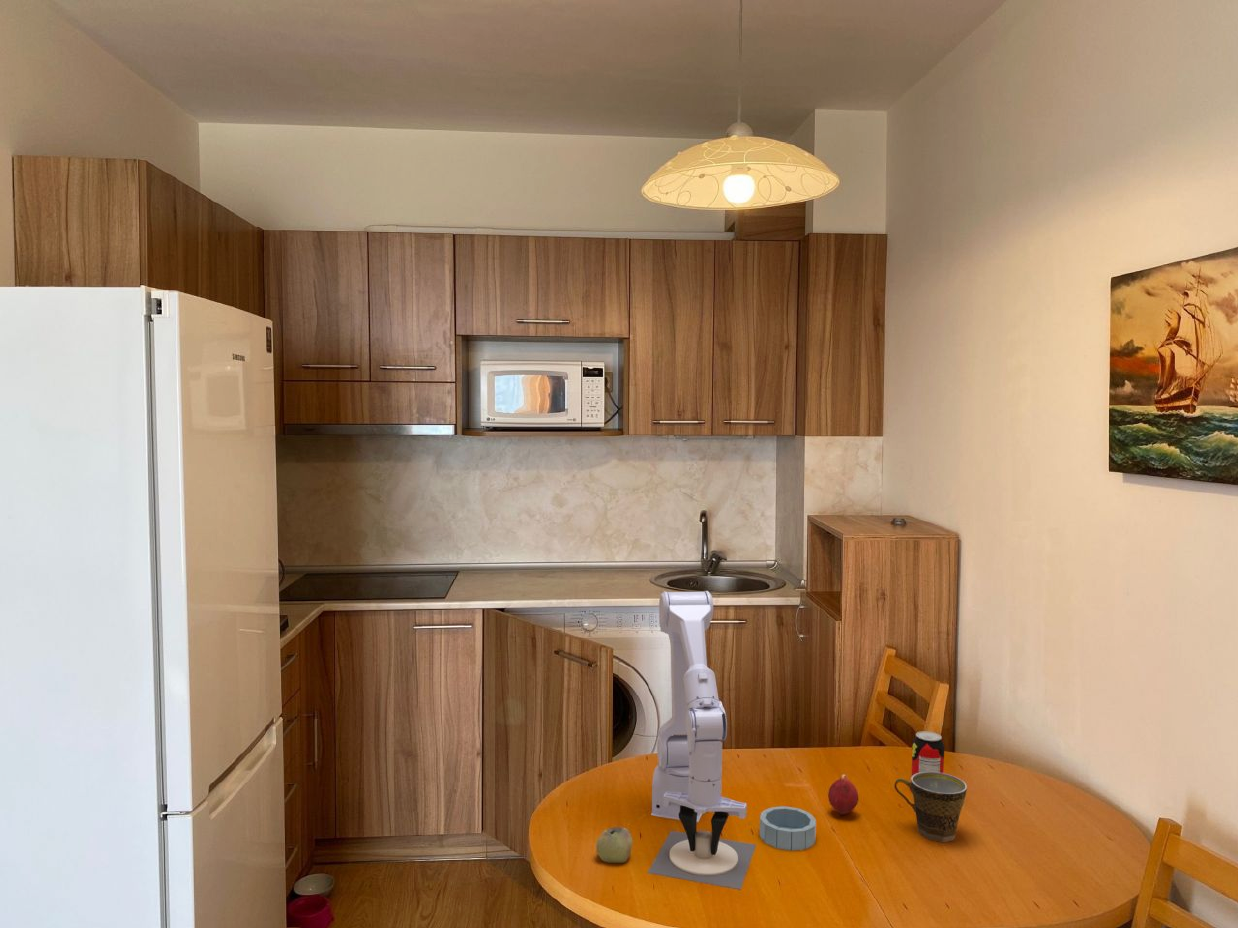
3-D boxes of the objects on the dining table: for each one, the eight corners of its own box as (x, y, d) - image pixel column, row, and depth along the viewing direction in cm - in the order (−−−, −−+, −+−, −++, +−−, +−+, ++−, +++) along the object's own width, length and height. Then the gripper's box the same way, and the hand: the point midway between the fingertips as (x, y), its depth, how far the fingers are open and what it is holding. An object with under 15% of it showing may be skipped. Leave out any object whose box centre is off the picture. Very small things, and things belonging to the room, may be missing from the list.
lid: (661, 868, 154) (662, 845, 154) (678, 837, 166) (678, 814, 165) (731, 880, 151) (731, 856, 150) (743, 847, 162) (743, 824, 162)
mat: (647, 875, 153) (647, 872, 153) (671, 833, 168) (671, 830, 168) (740, 892, 148) (740, 889, 148) (756, 847, 163) (756, 844, 163)
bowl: (756, 847, 163) (756, 826, 163) (764, 823, 173) (765, 803, 172) (812, 856, 160) (812, 834, 160) (817, 831, 170) (818, 811, 169)
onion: (858, 822, 174) (859, 782, 173) (828, 819, 175) (829, 779, 174) (856, 809, 179) (858, 770, 179) (827, 806, 180) (828, 767, 180)
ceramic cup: (966, 827, 172) (968, 777, 171) (963, 851, 163) (965, 797, 162) (896, 814, 177) (898, 764, 177) (889, 835, 168) (891, 784, 168)
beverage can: (945, 789, 189) (947, 734, 188) (938, 800, 184) (940, 743, 183) (915, 782, 193) (917, 727, 192) (907, 793, 187) (909, 736, 186)
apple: (644, 866, 156) (645, 833, 156) (600, 871, 154) (600, 838, 154) (635, 849, 162) (636, 818, 162) (592, 854, 160) (592, 822, 160)
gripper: (659, 778, 156) (657, 853, 156) (742, 790, 151) (740, 868, 152) (669, 762, 162) (668, 835, 163) (749, 773, 158) (747, 848, 159)
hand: (703, 850), depth 158 cm, fingers closed on lid, 3 cm apart
